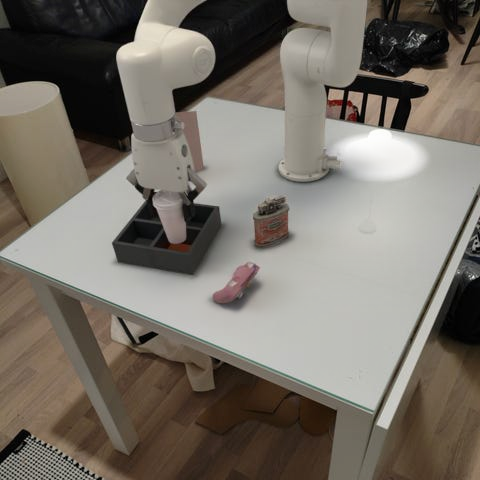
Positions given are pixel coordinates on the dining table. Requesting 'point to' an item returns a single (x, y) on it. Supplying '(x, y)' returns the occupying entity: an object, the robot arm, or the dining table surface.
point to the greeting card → (192, 137)
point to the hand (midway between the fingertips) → (172, 215)
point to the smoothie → (171, 215)
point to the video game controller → (237, 283)
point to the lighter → (271, 222)
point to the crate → (156, 242)
